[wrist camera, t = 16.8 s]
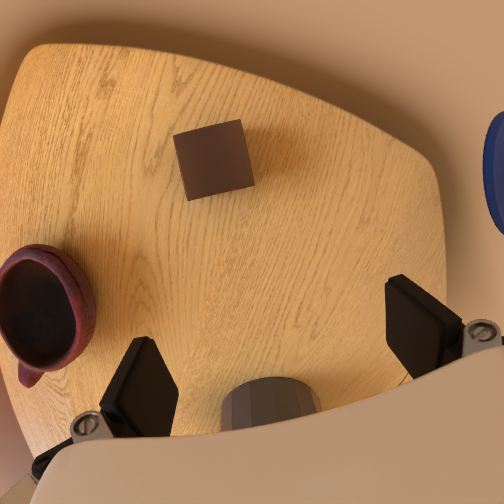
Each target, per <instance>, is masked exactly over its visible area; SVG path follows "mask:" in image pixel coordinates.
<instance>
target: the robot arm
mask: <svg viewBox="0 0 504 504" xmlns="http://www.w3.org/2000/svg"><path fill="white" fill-rule="evenodd" d="M385 304H386V341H387V344H388V346H389V347H390V349H391V350H392V351H393V353H394V354H395V355H396V357H397V358H398V359H399V361H400V362H401V363H402V365H403V366H404V367H405V369H406V370H407V371H408V373H409V374H410V375H411V377H412V378H413V379H414V380H411V381H409V382H407V383H404V384H402V385H399V386H397V387H394V388H392V389H389V390H387V391H384V392H381V393H379V394H376V395H373V396H370V397H367V398H364V399H361V400H358V401H355V402H352V403H349V404H346V405H343V406H340V407H336V408H333V409H329V410H326V411H322V412H319V413H315V414H311V415H307V416H303V417H299V418H295V419H290V420H286V421H281V422H277V423H272V424H267V425H261V426H256V427H250V428H244V429H238V430H231V431H224V432H216V433H207V434H197V435H185V436H170V433H171V428H172V424H173V419H174V414H175V410H176V405H177V401H178V396H179V392H178V388H177V386H176V384H175V382H174V380H173V378H172V376H171V374H170V372H169V370H168V368H167V366H166V364H165V362H164V360H163V358H162V356H161V354H160V352H159V350H158V348H157V345H156V343H155V341H154V340H153V339H150V338H149V337H148V336H144V337H138V338H134V339H133V340H132V342H131V344H130V346H129V348H128V350H127V351H126V353H125V355H124V357H123V359H122V361H121V363H120V364H119V366H118V368H117V370H116V372H115V374H114V376H113V378H112V380H111V382H110V383H109V385H108V387H107V389H106V391H105V393H104V395H103V397H102V399H101V401H100V403H99V406H100V407H101V410H100V412H97V411H86V412H84V413H82V414H80V415H79V416H77V417H76V418H75V419H74V420H73V422H72V423H71V426H70V433H71V436H72V437H71V438H69V439H67V440H66V441H64V442H62V443H60V444H59V445H57V446H55V447H53V448H51V449H50V450H48V451H46V452H44V453H42V454H41V455H39V456H37V457H36V459H35V460H34V462H33V464H32V475H30V474H29V473H28V474H27V475H25V476H24V478H22V479H21V480H20V481H19V482H18V483H17V484H16V485H14V486H13V487H12V488H11V489H10V490H9V491H8V492H6V493H5V494H4V495H3V496H2V498H1V499H0V504H504V336H501V331H500V328H499V327H498V325H497V324H495V323H494V322H492V321H489V320H485V319H477V320H473V321H471V322H469V323H468V324H467V325H466V326H465V325H464V324H463V323H462V319H461V318H460V317H459V316H458V315H456V314H455V313H453V312H452V311H451V310H450V309H448V308H447V307H446V306H445V305H443V304H442V303H441V302H440V301H438V300H437V299H436V298H434V297H433V296H432V295H430V294H429V293H428V292H426V291H425V290H424V289H422V288H421V287H420V286H418V285H417V284H415V283H414V282H413V281H411V280H410V279H409V278H407V277H406V276H404V275H403V274H400V275H397V276H394V277H390V278H389V279H388V282H386V283H385Z"/></svg>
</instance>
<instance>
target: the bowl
mask: <svg viewBox="0 0 504 504" xmlns="http://www.w3.org/2000/svg"><path fill="white" fill-rule="evenodd" d="M95 323H96V306H95V299H94V295H93V291H92V288H91V286H90V283H89V281H88V279H87V277H86V276H85V274H84V273H83V272H82V270H81V269H80V268H79V267H78V265H77V264H76V263H75V262H74V261H73V260H72V259H71V258H70V257H69V256H68V255H66V254H65V253H63V252H62V251H60V250H59V249H56V248H54V247H52V246H48V245H43V244H42V245H41V244H33V245H27V246H24V247H22V248H20V249H19V250H17V251H15V252H14V253H13V254H12V255H11V256H10V257H9V258H8V259H7V260H6V261H5V263H4V264H3V266H2V267H1V268H0V333H1V336H2V337H3V339H4V341H5V343H6V344H7V346H8V348H9V349H10V350H11V352H12V353H13V354H14V355H15V356H16V357H17V358H18V360H19V364H18V378H19V381H20V382H21V384H22V385H23V386H25V387H27V388H30V387H32V386H34V385H35V384H36V383H37V382H38V381H39V379H40V378H41V377H42V375H43V374H44V373H45V372H50V371H55V370H59V369H62V368H64V367H65V366H67V365H68V364H69V363H71V362H72V361H74V360H75V359H76V358H77V357H78V356H79V355H80V354H82V352H83V351H84V350H85V348H86V347H87V345H88V343H89V342H90V340H91V339H92V336H93V333H94V329H95Z"/></svg>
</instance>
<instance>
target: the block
mask: <svg viewBox="0 0 504 504" xmlns="http://www.w3.org/2000/svg"><path fill="white" fill-rule="evenodd" d="M173 140H174V145H175V149H176V154H177V158H178V163H179V167H180V172H181V176H182V180H183V185H184V189H185V193H186V197H187V201H190V200H194V199H198V198H202V197H207V196H211V195H215V194H219V193H224V192H228V191H232V190H237V189H241V188H246V187H251V186H255V183H254V179H253V174H252V169H251V165H250V160H249V156H248V151H247V147H246V142H245V137H244V133H243V129H242V124H241V120H240V119H238V120H233V121H228V122H224V123H219V124H215V125H211V126H207V127H203V128H199V129H195V130H191V131H187V132H184V133H180V134H176V135H173Z"/></svg>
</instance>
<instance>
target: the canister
mask: <svg viewBox="0 0 504 504" xmlns="http://www.w3.org/2000/svg"><path fill="white" fill-rule="evenodd" d="M319 412H322V408H321V404H320V401H319V398H318V397H317V396H316V394H315V392H314V391H313V390H312V389H311V388H310V387H309V386H307V385H306V384H304V383H302V382H300V381H297V380H294V379H290V378H282V377H270V378H262V379H257V380H253V381H250V382H247V383H245V384H243V385H241V386H239V387H237V388H235V389H234V390H233V391H231V392H230V393H229V394H228V395H227V396H226V398H225V399H224V401H223V403H222V406H221V412H220V418H219V432H224V431H231V430H238V429H244V428H250V427H256V426H261V425H267V424H272V423H277V422H281V421H286V420H290V419H295V418H299V417H303V416H307V415H311V414H315V413H319Z"/></svg>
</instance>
